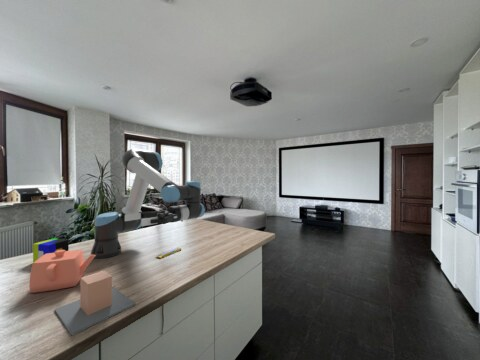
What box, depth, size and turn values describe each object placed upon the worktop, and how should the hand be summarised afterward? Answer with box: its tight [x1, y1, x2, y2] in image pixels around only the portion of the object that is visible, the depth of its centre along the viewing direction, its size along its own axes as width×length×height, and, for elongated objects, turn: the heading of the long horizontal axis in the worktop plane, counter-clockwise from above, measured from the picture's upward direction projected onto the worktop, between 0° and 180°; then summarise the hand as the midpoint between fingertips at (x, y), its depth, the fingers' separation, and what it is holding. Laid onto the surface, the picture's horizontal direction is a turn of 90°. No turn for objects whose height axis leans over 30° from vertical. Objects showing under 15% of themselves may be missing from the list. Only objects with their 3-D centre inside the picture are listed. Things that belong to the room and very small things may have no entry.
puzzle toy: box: [32, 237, 70, 264], centre depth 111 cm, size 10×10×10 cm
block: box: [79, 270, 113, 315], centre depth 71 cm, size 7×7×10 cm
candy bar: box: [157, 247, 182, 259], centre depth 123 cm, size 17×4×2 cm, turn 149°
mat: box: [54, 286, 136, 336], centre depth 71 cm, size 18×18×1 cm
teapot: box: [28, 249, 96, 294], centre depth 88 cm, size 20×22×14 cm
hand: (132, 220), depth 84 cm, fingers open, 13 cm apart
